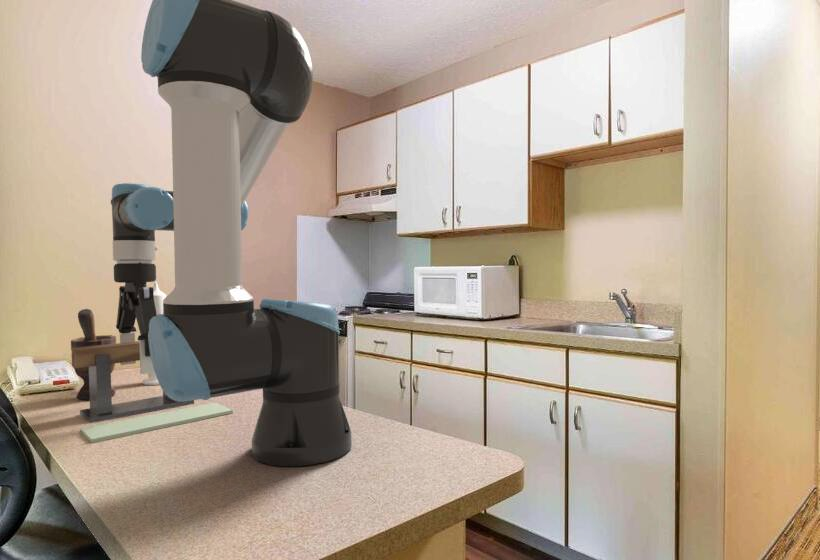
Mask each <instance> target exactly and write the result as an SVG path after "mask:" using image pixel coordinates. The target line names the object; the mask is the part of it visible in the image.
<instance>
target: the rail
mask: <svg viewBox="0 0 820 560" xmlns="http://www.w3.org/2000/svg"><path fill="white" fill-rule="evenodd" d="M106 354H110V363H111V364H115V365H116V364H121V363H123V362H131V361H136V362H138V361H139V362H140V342H139V340H137V341H136V340H135V342H126V343H120V342H118V343H117V342H116V344H106V345H96V346H86V347H77V348H72V351H71V367H73V368H74V367H75V368H82V367H91V366H95V356H97V355H106Z"/></svg>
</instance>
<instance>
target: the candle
mask: <svg viewBox="0 0 820 560" xmlns="http://www.w3.org/2000/svg"><path fill="white" fill-rule="evenodd" d="M152 287H153V290H154V291H153V294H154V303H155V308H156V314H157V315H158V314H163V300H164V299H165V298H166V297H167V294H166V293H165V292H163V291H162V290H160V288H159V285H158V282H157V281H154V283H153V286H152ZM142 385H144V386H160V384H159V382H158V379H157V377H156V374H155V372H154V373H147V378H144V379H143V380H142Z"/></svg>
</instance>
